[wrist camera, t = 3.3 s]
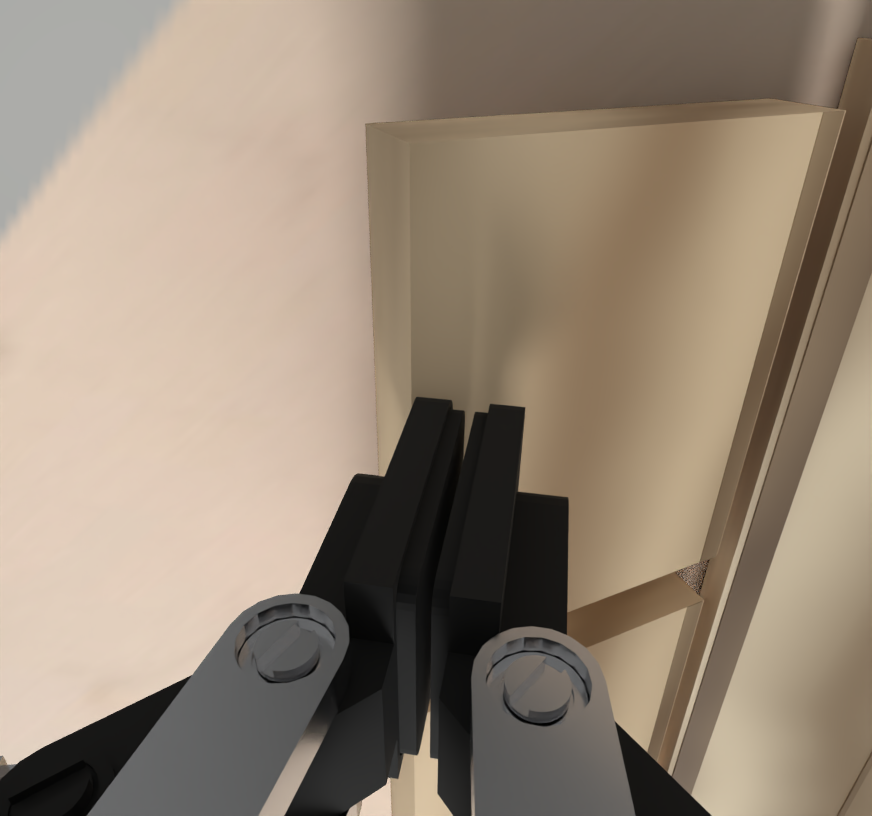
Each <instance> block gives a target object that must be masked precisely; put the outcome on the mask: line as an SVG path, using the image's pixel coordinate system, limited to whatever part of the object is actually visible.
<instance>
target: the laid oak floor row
mask: <svg viewBox="0 0 872 816" xmlns="http://www.w3.org/2000/svg"><path fill="white" fill-rule="evenodd" d="M838 109H841V110H846V112H845V116H844V119H843V123H842V126H841V130H840V133H839V137H838V140H837V143H836V147H835V150H834V154H833V157H832V161H831V164H830V168H829V171H828V175H827V178H826V181H825V185H824V188H823V192H822V195H821V199H820V202H819V206H818V209H817V212H816V216H815V219H814V223H813V226H812V230H811V233H810V237H809V240H808V243H807V247H806V250H805V254H804V257H803V261H802V264H801V268H800V271H799V274H798V278H797V281H796V285H795V288H794V292H793V295H792V299H791V302H790V306H789V309H788V312H787V316H786V319H785V323H784V326H783V330H782V333H781V337H780V340H779V343H778V347H777V350H776V354H775V357H774V361H773V364H772V368H771V371H770V374H769V378H768V381H767V385H766V388H765V392H764V395H763V399H762V402H761V405H760V409H759V412H758V416H757V419H756V423H755V426H754V430H753V433H752V436H751V440H750V443H749V447H748V450H747V454H746V457H745V461H744V464H743V468H742V471H741V474H740V478H739V481H738V485H737V488H736V492H735V495H734V499H733V502H732V505H731V509H730V512H729V516H728V519H727V523H726V526H725V530H724V533H723V536H722V540H721V543H720V547H719V550H718V554H717V556H716V557H714V558H711V559H710V560H709V563H708V567H707V571H706V574H705V578H704V581H703V585H702V588H701V592H700V595H699V596H700V597H701V598H702V599H703V600H704V602H703V605H702V609H701V612H700V616H699V619H698V623H697V626H696V630H695V633H694V636H693V640H692V643H691V647H690V650H689V654H688V657H687V661H686V664H685V667H684V671H683V674H682V678H681V681H680V685H679V688H678V692H677V695H676V698H675V702H674V705H673V709H672V712H671V716H670V719H669V723H668V726H667V730H666V733H665V736H664V740H663V743H662V747H661V750H660V754H659V757H658V761H657V763H658V764H659V765H660V766H661V767H663V768H664V769H665V770H666V771H667V772H668V773H669V774H670V775H671V776H672V777H673V778H674V779H675V780H676V781H677V782H678V783H679V784H680V785H681V786H682V787H683V788H684V789H685V790H686V791H687V792H688V793H689V794H690V795H691V796H692V797H693V798H694V799H695V800H696V801H697V802H698V803H699V804H700V805H701V806H702V807H703V808H704V809H705V810H707V811H708V812H709V813H710V814H711V815H712V816H872V38H858V39H857V42H856V46H855V49H854V53H853V56H852V60H851V64H850V67H849V71H848V74H847V78H846V81H845V85H844V88H843V92H842V95H841V99H840V102H839V106H838Z"/></svg>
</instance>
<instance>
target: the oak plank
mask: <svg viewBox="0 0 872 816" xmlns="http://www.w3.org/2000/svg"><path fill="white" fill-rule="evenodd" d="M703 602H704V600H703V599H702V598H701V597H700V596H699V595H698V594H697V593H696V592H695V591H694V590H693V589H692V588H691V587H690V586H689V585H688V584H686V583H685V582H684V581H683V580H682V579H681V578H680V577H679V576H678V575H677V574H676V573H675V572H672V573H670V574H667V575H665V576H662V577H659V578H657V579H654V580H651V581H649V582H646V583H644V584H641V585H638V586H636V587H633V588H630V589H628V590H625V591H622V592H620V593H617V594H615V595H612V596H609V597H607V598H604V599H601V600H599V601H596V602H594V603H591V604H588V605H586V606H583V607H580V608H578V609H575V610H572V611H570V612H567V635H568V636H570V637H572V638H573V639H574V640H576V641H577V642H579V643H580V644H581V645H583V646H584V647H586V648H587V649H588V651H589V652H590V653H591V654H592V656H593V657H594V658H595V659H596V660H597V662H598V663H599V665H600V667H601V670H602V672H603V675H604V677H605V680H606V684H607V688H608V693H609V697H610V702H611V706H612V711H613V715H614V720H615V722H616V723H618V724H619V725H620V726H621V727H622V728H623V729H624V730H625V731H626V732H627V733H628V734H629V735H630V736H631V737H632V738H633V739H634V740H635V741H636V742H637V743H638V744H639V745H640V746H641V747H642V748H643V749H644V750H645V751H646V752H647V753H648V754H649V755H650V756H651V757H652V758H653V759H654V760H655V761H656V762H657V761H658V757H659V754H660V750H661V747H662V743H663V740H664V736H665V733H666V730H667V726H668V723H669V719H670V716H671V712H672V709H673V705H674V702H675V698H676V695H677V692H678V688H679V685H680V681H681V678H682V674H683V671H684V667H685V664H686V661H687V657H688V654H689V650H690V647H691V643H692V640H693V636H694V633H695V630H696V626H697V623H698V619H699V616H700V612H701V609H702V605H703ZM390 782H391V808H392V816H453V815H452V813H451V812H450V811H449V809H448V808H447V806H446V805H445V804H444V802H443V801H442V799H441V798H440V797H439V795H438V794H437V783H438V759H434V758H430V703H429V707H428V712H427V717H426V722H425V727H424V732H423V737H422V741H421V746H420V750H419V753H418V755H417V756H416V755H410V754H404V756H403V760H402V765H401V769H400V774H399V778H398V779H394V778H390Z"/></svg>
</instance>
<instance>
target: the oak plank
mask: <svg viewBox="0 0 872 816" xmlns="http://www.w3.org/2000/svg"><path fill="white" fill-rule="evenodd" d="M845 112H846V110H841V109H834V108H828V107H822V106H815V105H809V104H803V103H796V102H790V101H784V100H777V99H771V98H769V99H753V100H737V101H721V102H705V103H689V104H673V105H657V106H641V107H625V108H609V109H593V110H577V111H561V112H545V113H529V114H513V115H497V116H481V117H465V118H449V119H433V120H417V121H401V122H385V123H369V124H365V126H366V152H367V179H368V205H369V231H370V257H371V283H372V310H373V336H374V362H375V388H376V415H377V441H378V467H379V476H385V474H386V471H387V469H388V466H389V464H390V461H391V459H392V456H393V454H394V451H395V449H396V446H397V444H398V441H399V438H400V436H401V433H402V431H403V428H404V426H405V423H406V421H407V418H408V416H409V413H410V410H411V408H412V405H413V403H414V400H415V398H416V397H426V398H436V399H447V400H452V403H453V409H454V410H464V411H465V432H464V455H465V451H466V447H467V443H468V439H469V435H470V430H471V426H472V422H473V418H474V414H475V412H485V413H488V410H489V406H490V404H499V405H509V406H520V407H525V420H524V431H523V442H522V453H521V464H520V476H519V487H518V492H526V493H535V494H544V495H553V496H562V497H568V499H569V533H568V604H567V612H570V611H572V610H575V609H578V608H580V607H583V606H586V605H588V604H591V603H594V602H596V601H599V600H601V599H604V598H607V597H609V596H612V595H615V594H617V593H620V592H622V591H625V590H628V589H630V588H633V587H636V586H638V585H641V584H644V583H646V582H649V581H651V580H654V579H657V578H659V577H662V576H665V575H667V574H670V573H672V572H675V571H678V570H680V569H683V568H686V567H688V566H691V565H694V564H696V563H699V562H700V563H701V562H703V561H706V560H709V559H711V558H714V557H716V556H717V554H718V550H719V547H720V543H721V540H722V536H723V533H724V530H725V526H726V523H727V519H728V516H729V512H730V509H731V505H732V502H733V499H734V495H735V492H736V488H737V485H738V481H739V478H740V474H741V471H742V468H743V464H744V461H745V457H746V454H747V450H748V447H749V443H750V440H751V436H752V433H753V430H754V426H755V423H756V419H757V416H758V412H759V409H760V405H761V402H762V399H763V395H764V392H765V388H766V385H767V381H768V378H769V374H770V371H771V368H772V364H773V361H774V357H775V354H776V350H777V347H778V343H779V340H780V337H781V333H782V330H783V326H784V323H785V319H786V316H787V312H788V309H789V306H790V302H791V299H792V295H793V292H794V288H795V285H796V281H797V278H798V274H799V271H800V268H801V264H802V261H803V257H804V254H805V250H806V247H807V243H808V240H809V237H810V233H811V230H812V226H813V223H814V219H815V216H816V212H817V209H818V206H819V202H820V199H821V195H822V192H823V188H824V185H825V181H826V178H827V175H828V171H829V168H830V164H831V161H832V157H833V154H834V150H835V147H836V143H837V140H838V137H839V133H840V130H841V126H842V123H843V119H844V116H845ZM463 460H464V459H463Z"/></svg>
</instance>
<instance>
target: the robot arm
mask: <svg viewBox="0 0 872 816" xmlns="http://www.w3.org/2000/svg"><path fill="white" fill-rule="evenodd" d="M524 420H525V407H520V406H509V405H499V404H490V406H489V410H488V413H485V412H475V414H474V418H473V422H472V426H471V430H470V435H469V439H468V443H467V447H466V451H465V455H464V432H465V411H464V410H454V409H453V403H452V400H447V399H436V398H426V397H416V398H415V400H414V403H413V405H412V408H411V410H410V413H409V416H408V418H407V421H406V423H405V426H404V428H403V431H402V433H401V436H400V438H399V441H398V444H397V446H396V449H395V451H394V454H393V456H392V459H391V461H390V464H389V466H388V469H387V471H386V474H385V476H376V475H367V474H356V475H354V477H353V479H352V480H351V482H350V484H349V486H348V489H347V491H346V493H345V495H344V497H343V500H342V502H341V504H340V506H339V508H338V510H337V513H336V515H335V517H334V519H333V521H332V524H331V526H330V528H329V530H328V532H327V534H326V537H325V539H324V541H323V543H322V545H321V548H320V550H319V552H318V554H317V556H316V558H315V561H314V563H313V565H312V567H311V569H310V572H309V574H308V576H307V578H306V580H305V582H304V585H303V587H302V589H301V591H300V593H299V594H288V595H278V596H275V597H272V598H269V599H266V600H263V601H260V602H258V603H256V604H255V605H253V606H252V607H250V608H248V609H247V610H245V611H243V612H242V613H241V614H240V615H239V616H238V617H237V618H236V619H235V620H234V621H233V622H232V623H231V624H230V626H229V627H228V628H227V630H226V631H225V632H224V634H223V635H222V636H221V638H220V639H219V640H218V642H217V643H216V644H215V646H214V647H213V648H212V650H211V651H210V652H209V654H208V655H207V656H206V658H205V659H204V660H203V662H202V663H201V664H200V666H199V667H198V668H197V670H196V671H195V672H194V674H193V675H191V676H189V677H187V678H185V679H183V680H181V681H179V682H177V683H175V684H173V685H171V686H169V687H167V688H165V689H163V690H160V691H158V692H156V693H154V694H152V695H150V696H148V697H146V698H144V699H142V700H140V701H138V702H136V703H134V704H132V705H130V706H127V707H125V708H123V709H121V710H119V711H117V712H115V713H113V714H111V715H109V716H107V717H105V718H103V719H101V720H99V721H97V722H94V723H92V724H90V725H88V726H86V727H84V728H82V729H80V730H78V731H76V732H74V733H72V734H70V735H68V736H66V737H64V738H61V739H59V740H57V741H55V742H53V743H51V744H49V745H47V746H45V747H43V748H41V749H40V750H38V751H36V752H35V753H33V754H31V755H30V756H28V757H27V758H25V759H23V760H22V761H20V762H19V763H18V764H14V765H7V763H6V761H5V759H4V757H3V756H0V816H359V813H360V810H361V806H362V800H363V799H365V798H366V797H368V796H369V795H371V794H372V793H374V792H375V791H377V790H378V789H380V788H382V787H383V786H385V785H386V783H387V779H388V777H389V778H394V779H398V778H399V774H400V769H401V765H402V760H403V756H404V754H410V755H416V756H417V755H418V753H419V750H420V746H421V741H422V737H423V732H424V727H425V722H426V717H427V712H428V707H429V703H430V758H434V759H438V783H437V794H438V795H439V797H440V798H441V799H442V801H443V802H444V804H445V805H446V806H447V808H448V809H449V811H450V812H451V813H452V815H453V816H712V815H711V814H710V813H709V812H708V811H707V810H705V809H704V808H703V807H702V806H701V805H700V804H699V803H698V802H697V801H696V800H695V799H694V798H693V797H692V796H691V795H690V794H689V793H688V792H687V791H686V790H685V789H684V788H683V787H682V786H681V785H680V784H679V783H678V782H677V781H676V780H675V779H674V778H673V777H672V776H671V775H670V774H669V773H668V772H667V771H666V770H665V769H664V768H663V767H661V766H660V765H659V764H658V763H657V762H656V761H655V760H654V759H653V758H652V757H651V756H650V755H649V754H648V753H647V752H646V751H645V750H644V749H643V748H642V747H641V746H640V745H639V744H638V743H637V742H636V741H635V740H634V739H633V738H632V737H631V736H630V735H629V734H628V733H627V732H626V731H625V730H624V729H623V728H622V727H621V726H620V725H619V724H618V723H616V722H615V720H614V715H613V711H612V706H611V702H610V697H609V693H608V688H607V684H606V680H605V677H604V675H603V672H602V670H601V667H600V665H599V663H598V662H597V660H596V659H595V658H594V657H593V656H592V654H591V653H590V652H589V651H588V649H587V648H586V647H584V646H583V645H581V644H580V643H579V642H577V641H576V640H574V639H573V638H572V637H570V636H568V635H567V604H568V533H569V499H568V497H562V496H553V495H544V494H535V493H526V492H518V487H519V476H520V464H521V453H522V442H523V431H524ZM463 459H464V460H463Z"/></svg>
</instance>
